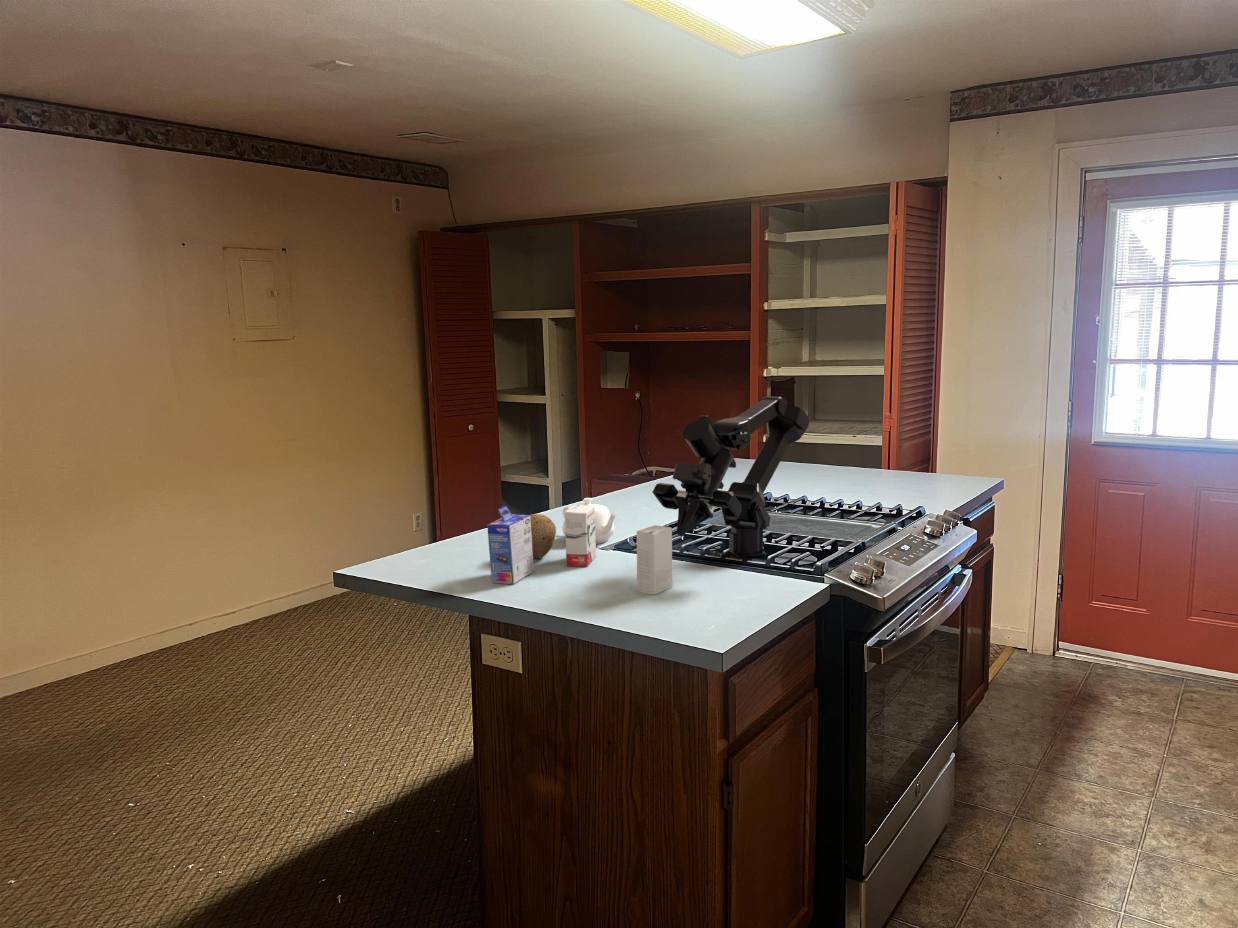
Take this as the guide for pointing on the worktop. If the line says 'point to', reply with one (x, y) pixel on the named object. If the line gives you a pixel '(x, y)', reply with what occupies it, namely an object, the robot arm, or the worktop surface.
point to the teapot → (599, 521)
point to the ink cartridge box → (510, 547)
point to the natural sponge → (542, 534)
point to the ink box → (580, 535)
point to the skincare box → (654, 559)
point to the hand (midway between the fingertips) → (679, 534)
